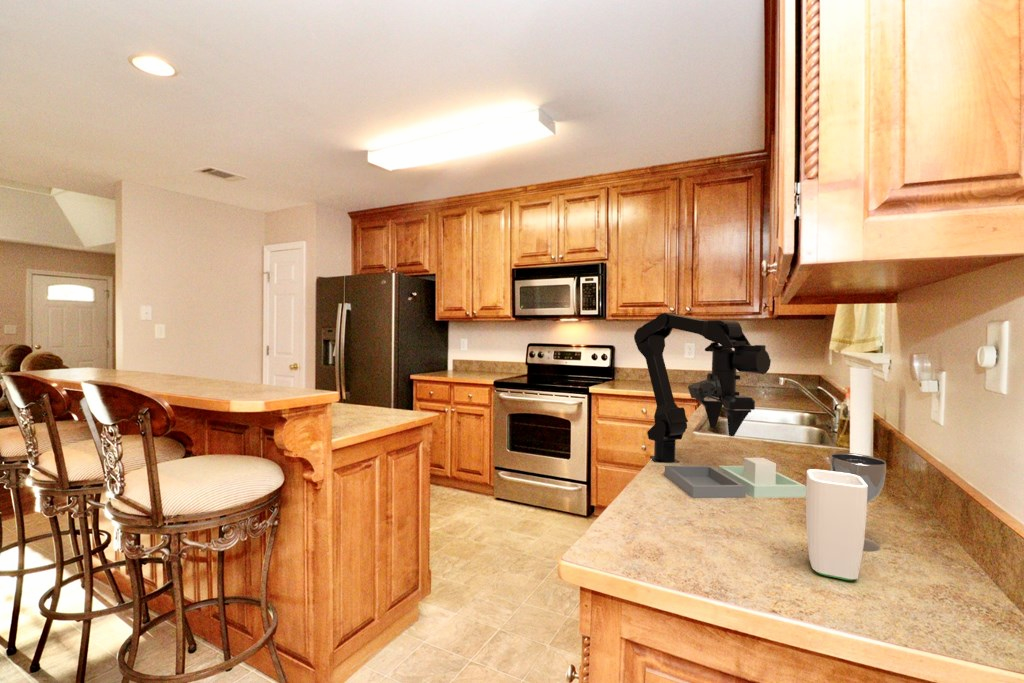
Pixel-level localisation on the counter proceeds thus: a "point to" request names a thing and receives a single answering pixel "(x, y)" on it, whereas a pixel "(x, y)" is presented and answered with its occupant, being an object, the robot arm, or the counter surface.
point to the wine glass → (868, 470)
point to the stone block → (759, 471)
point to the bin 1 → (705, 482)
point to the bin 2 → (780, 490)
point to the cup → (835, 522)
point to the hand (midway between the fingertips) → (721, 431)
